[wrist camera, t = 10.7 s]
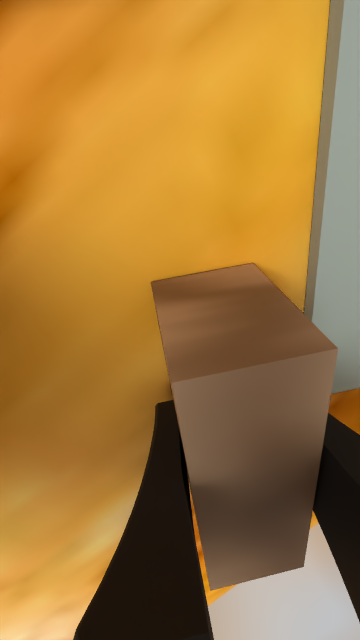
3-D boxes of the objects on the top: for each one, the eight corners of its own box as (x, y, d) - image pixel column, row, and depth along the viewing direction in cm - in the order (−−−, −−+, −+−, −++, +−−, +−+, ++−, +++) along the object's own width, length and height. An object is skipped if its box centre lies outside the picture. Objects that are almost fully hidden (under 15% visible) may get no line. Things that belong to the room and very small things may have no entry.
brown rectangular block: (186, 467, 16) (210, 590, 12) (150, 282, 11) (171, 383, 6) (254, 451, 16) (303, 566, 12) (253, 263, 11) (338, 348, 7)
